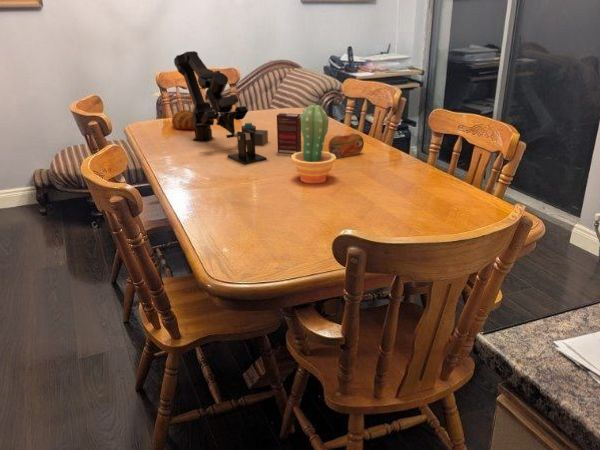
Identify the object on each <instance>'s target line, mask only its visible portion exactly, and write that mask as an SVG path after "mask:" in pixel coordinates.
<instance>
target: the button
mask: <svg viewBox="0 0 600 450" xmlns="http://www.w3.org/2000/svg"><path fill="white" fill-rule="evenodd" d="M244 125H245V127H246V128H251V127H252V125H253V123H252V122H245V123H244Z"/></svg>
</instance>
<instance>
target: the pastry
mask: <svg viewBox="0 0 600 450" xmlns="http://www.w3.org/2000/svg"><path fill="white" fill-rule="evenodd" d="M192 112H193V111H192V110H187V109H186V110H185V109H184V110H183V109H180V110H178V111H177V112H175V113H174V114H173V116H172V117H171V124H172V126H173V127H174V128H175V129H176V130H195V128H194V127H193V126H191V122H190V120H191V118H192V115H193V114H192Z"/></svg>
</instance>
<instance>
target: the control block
mask: <svg viewBox="0 0 600 450" xmlns="http://www.w3.org/2000/svg"><path fill="white" fill-rule="evenodd" d="M240 130H241V132H242V133H246V130H250V131H253V132H255V147H256V146H257V147H264V146H265V145H266V144H267V143H269V132H268V130H266V129H257V127H256V125H253V124H252V127H251V128H246V127H245V124H244V125H242V126H241V129H240ZM246 146H247V140H246Z"/></svg>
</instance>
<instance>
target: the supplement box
mask: <svg viewBox="0 0 600 450" xmlns="http://www.w3.org/2000/svg"><path fill="white" fill-rule="evenodd" d="M300 115H301V113H291V112H289V113H287V112H279V113H278V114H276V138H277V141H276V142H277V155H278V156H279V155H280V156H289V157H291V155H293V154H295V153H297V152H302V131H301V117H299V116H300Z"/></svg>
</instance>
